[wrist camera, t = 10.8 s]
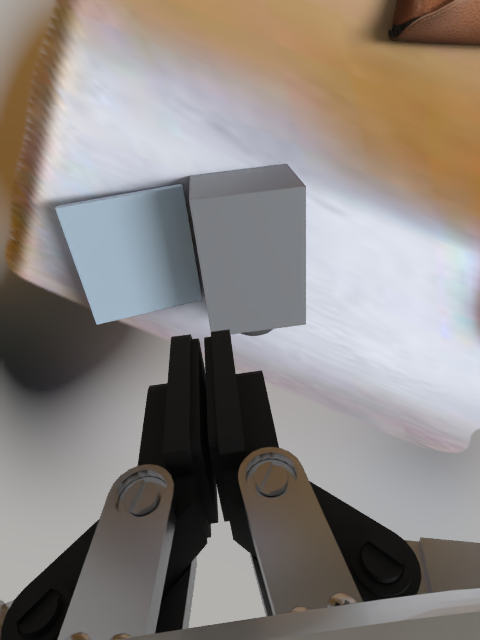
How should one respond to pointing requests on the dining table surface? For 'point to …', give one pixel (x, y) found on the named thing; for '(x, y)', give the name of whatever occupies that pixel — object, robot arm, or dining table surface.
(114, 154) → the dining table surface
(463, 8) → the sunglasses case
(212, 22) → the dining table surface
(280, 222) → the block
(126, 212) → the side door
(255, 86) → the dining table surface
